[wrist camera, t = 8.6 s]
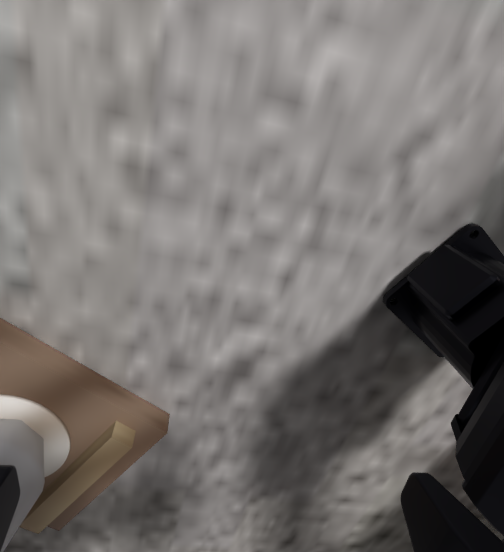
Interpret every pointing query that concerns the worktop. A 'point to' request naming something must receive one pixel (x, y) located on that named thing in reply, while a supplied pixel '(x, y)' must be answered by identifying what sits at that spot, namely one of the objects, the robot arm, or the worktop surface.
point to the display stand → (72, 424)
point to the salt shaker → (22, 466)
